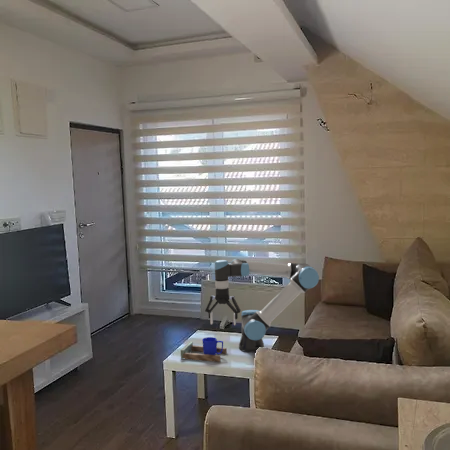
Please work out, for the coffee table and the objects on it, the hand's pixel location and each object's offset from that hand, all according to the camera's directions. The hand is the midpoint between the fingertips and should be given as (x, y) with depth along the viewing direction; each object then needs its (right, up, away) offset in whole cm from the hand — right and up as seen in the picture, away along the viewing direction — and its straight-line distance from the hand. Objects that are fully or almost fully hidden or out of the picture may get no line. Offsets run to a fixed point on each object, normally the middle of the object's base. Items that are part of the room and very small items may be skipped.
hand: (223, 324), depth 269 cm
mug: (-6, -19, +3) cm, 20 cm away
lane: (-11, -19, +4) cm, 22 cm away
